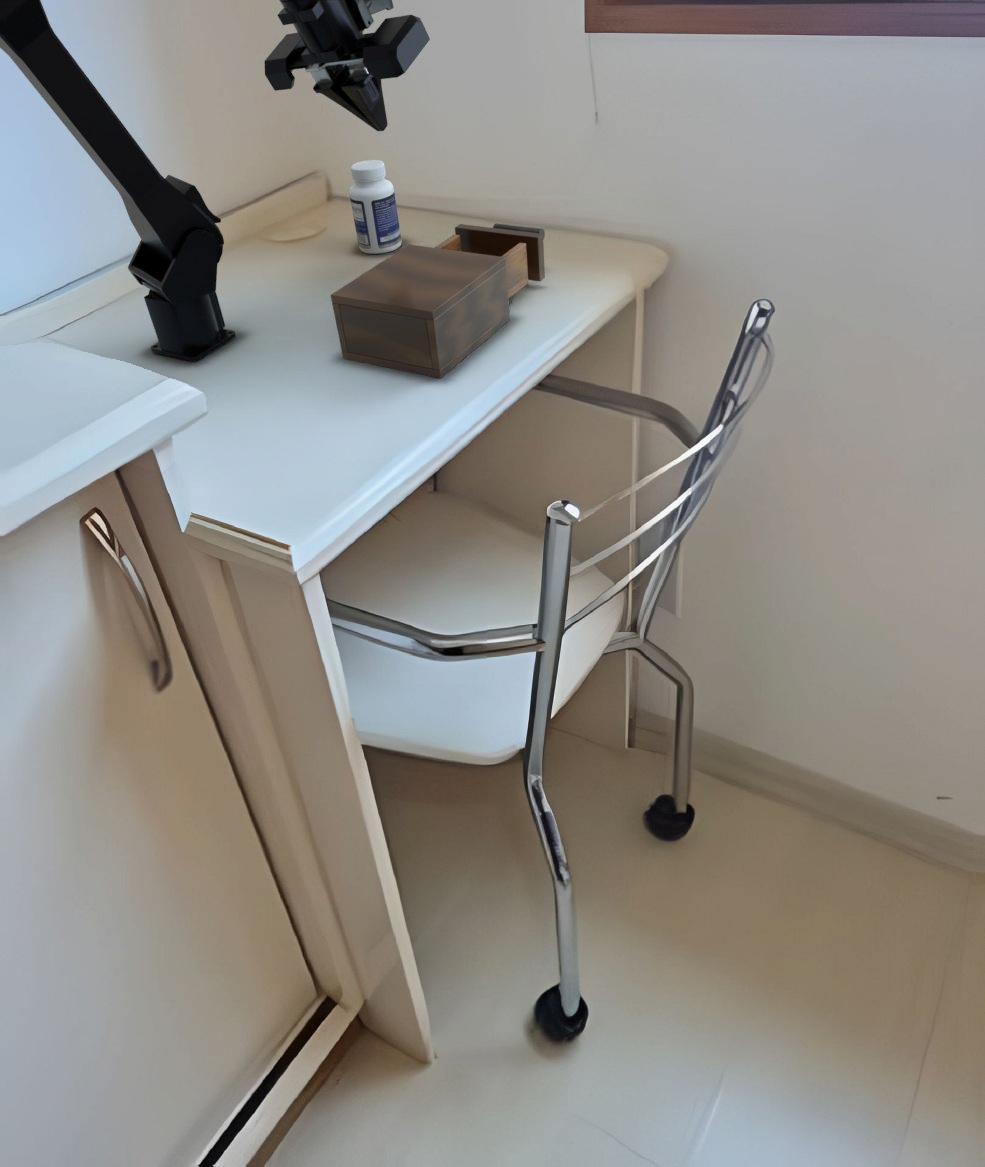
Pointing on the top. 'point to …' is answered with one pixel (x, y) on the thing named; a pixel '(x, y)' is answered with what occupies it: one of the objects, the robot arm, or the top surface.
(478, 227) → the drawer
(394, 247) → the pill bottle
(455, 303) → the cabinet
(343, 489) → the top surface
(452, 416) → the top surface
